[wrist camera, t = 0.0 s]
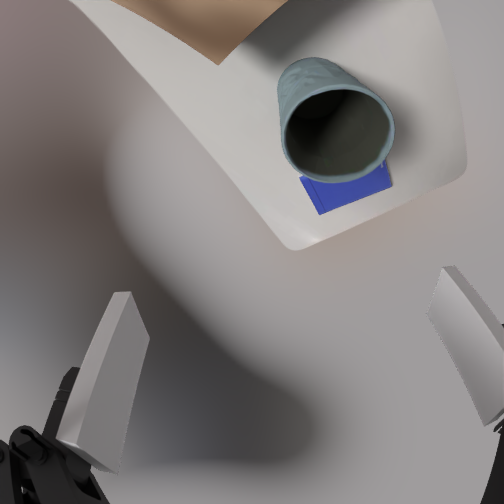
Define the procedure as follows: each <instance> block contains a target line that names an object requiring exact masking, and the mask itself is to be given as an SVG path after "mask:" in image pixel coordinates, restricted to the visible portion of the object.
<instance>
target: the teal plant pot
mask: <svg viewBox="0 0 504 504" xmlns="http://www.w3.org/2000/svg"><path fill="white" fill-rule="evenodd" d="M277 94H278V102H279V112H280V126H281V143H282V148H283V152H284V154H285V156H286V158H287V160H288V162H289V163H290V164H291V165H292V167H293V168H294V169H295V170H296V171H298V172H299V173H301V174H302V175H303V176H305V177H307V178H310V179H312V180H314V181H318V182H323V183H341V182H349V181H352V180H356V179H359V178H361V177H363V176H365V175H367V174H368V173H370V172H372V171H373V170H374V169H375V168H377V167H378V166H379V165H380V164H381V163H382V162H383V160H384V159H385V158H386V156H387V155H388V153H389V151H390V149H391V147H392V144H393V141H394V135H395V124H394V119H393V116H392V113H391V111H390V109H389V108H388V106H387V105H386V103H385V102H384V101H383V100H382V99H381V98H380V97H379V96H378V95H376V94H375V93H374V92H372V91H371V90H370V89H368V88H367V87H366V86H364V85H363V84H361V83H360V82H359V81H358V80H357V79H356V78H355V77H353V76H351V75H350V74H348V73H346V72H345V71H344V70H343V69H342V68H340V67H339V66H337V65H336V64H334V63H332V62H330V61H329V60H326V59H322V58H315V57H314V58H305V59H301V60H299V61H296V62H295V63H293V64H291V65H290V66H289V67H288V68H287V69H286V70H285V71H284V72H283V74H282V75H281V77H280V79H279V82H278V87H277Z"/></svg>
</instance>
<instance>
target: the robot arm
mask: <svg viewBox="0 0 504 504" xmlns="http://www.w3.org/2000/svg"><path fill="white" fill-rule="evenodd" d="M426 314H427V316H428V317H429V319H430V321H431V322H432V324H433V326H434V328H435V329H436V331H437V333H438V335H439V336H440V338H441V340H442V342H443V343H444V345H445V347H446V349H447V351H448V353H449V354H450V356H451V358H452V360H453V362H454V364H455V366H456V368H457V370H458V371H459V373H460V375H461V377H462V379H463V381H464V383H465V385H466V387H467V389H468V392H469V394H470V396H471V398H472V400H473V402H474V405H475V407H476V409H477V411H478V413H479V416H480V418H481V420H482V423H483V425H484V426H486V425H488V424H490V423H492V422H494V421H496V420H497V419H498V418H499V417H500V416H501V415H502V414H503V413H504V324H501V323H500V322H499V321H498V320H497V318H496V317H495V315H494V314H493V312H492V311H491V310H490V308H489V307H488V306H487V305H486V303H485V302H484V301H483V299H482V298H481V297H480V295H479V294H478V293H477V292H476V290H475V289H474V288H473V287H472V285H470V283H469V282H468V281H467V279H466V278H465V277H464V276H463V275H462V273H461V272H460V271H459V270H458V269H457V268H456V266H448V267H442V270H441V273H440V277H439V279H438V282H437V286H436V288H435V291H434V294H433V297H432V299H431V303H430V305H429V307H428V310H427V313H426ZM149 339H150V338H149V336H148V333H147V331H146V329H145V326H144V324H143V321H142V319H141V317H140V314H139V312H138V309H137V307H136V304H135V302H134V299H133V296H132V294H131V292H115V293H114V294H113V297H112V299H111V301H110V303H109V305H108V307H107V309H106V311H105V313H104V315H103V317H102V320H101V322H100V324H99V326H98V328H97V331H96V333H95V335H94V337H93V340H92V342H91V344H90V347H89V349H88V351H87V354H86V356H85V359H84V361H83V363H82V366H81V368H77V367H72V368H71V369H70V370H69V371H68V372H67V373H66V375H65V376H64V377H63V380H62V382H61V384H60V387H59V391H58V392H57V395H56V397H55V399H56V400H55V401H54V402H53V405H52V408H51V411H50V413H49V416H48V419H47V422H46V425H45V428H44V431H43V433H42V435H40V434H39V433H38V432H37V431H35V430H34V429H33V428H32V427H30V426H26V425H24V426H20V427H18V428H17V429H15V430H14V431H13V433H12V435H11V436H10V440H9V445H8V444H6V443H5V442H4V441H2V440H0V504H110V503H109V502H108V500H107V499H106V497H105V495H104V493H103V492H102V490H101V488H100V486H99V485H98V483H97V481H96V479H95V477H94V475H93V474H92V473H91V471H90V469H91V465H92V466H94V467H95V468H97V469H98V470H100V471H104V472H109V473H113V474H118V472H119V467H120V461H121V456H122V451H123V445H124V441H125V436H126V431H127V427H128V422H129V417H130V413H131V409H132V404H133V400H134V396H135V392H136V388H137V384H138V380H139V376H140V372H141V368H142V365H143V361H144V356H145V353H146V349H147V346H148V343H149ZM501 426H502V428H501V429H500V430H499V431H498V433H500V434H501V435H500V440H499V444H498V448H497V452H496V456H495V460H494V464H493V467H492V471H491V474H490V477H489V480H488V484H487V487H486V489H485V492H484V495H483V498H482V501H481V503H480V504H504V419H503V420H502V421H501V422H499V423H498V425H496V427H495V428H494V432H496V431H497V430H498V429H499V428H500V427H501ZM21 487H23V493H22V489H21Z"/></svg>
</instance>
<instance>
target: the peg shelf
mask: <svg viewBox="0 0 504 504" xmlns="http://www.w3.org/2000/svg"><path fill="white" fill-rule="evenodd" d="M111 1H113V2H115V3H117V4H119V5H121V6H123V7H125V8H127V9H129V10H130V11H132V12H134V13H136V14H138V15H140V16H141V17H143V18H145V19H147V20H148V21H150V22H152V23H154V24H155V25H157V26H159V27H160V28H162V29H164V30H165V31H167V32H169V33H170V34H172V35H173V36H175V37H177V38H178V39H180V40H181V41H183V42H184V43H186V44H187V45H189V46H190V47H192V48H193V49H195V50H196V51H198V52H199V53H201V54H202V55H204V56H205V57H207V58H208V59H210V60H211V61H212V62H214V63H215V64H217V65H219V64H220V63H221V62H222V61H223V60H224V59H225V58H226V57H227V56H228V55H229V54H230V53H231V52H232V51H233V50H234V49H235V48H236V47H237V46H238V45H239V44H240V43H241V42H242V41H243V40H244V39H245V38H246V37H247V36H248V35H249V34H250V33H251V32H252V31H253V30H255V29H256V28H257V27H258V26H259V25H260V24H261V23H262V22H263V21H264V20H265V19H267V18H268V17H269V16H270V15H271V14H272V13H273V12H275V11H276V10H277V9H278V8H279V7H281V6H282V5H283V4H284V3H285V2H287V1H288V0H111Z"/></svg>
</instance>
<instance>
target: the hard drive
mask: <svg viewBox="0 0 504 504" xmlns="http://www.w3.org/2000/svg"><path fill="white" fill-rule="evenodd" d="M299 178H300V180H301V182H302V184H303V186H304V188H305V190H306V191H307V193H308V195H309V197H310V199H311V200H312V202H313V204H314V206H315V208H316V210H317V212H318V214H319V215H321V214H323V213H326V212H328V211H331V210H333V209H336V208H338V207H341V206H343V205H346V204H348V203H351V202H354V201H356V200H359V199H362V198H364V197H367V196H369V195H372V194H374V193H377V192H379V191H382V190H385V189H387V188H390V187H392V185H391V181H390V177H389V173H388V169H387V166H386V162H385V159H384V160H383V162H382V163H381V164H380V165H379V166H378V167H377V168H375V169H374V170H373V171H372V172H370V173H368V174H367V175H365V176H363V177H361V178H359V179H356V180H352V181H349V182H341V183H323V182H318V181H314V180H312V179H310V178H307V177H305V176H303V175H302V174H300V175H299Z"/></svg>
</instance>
